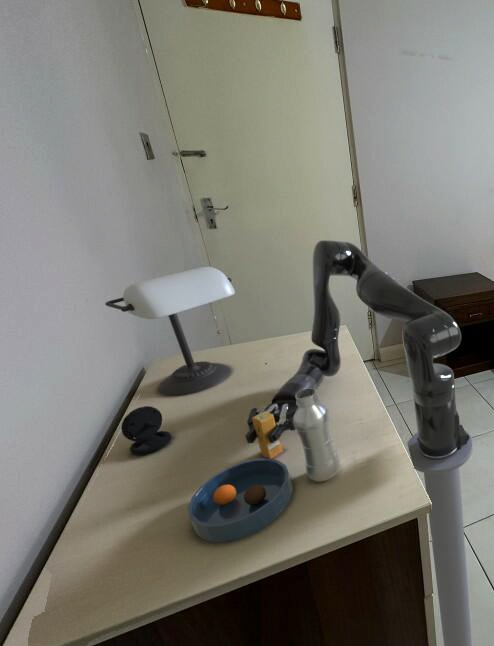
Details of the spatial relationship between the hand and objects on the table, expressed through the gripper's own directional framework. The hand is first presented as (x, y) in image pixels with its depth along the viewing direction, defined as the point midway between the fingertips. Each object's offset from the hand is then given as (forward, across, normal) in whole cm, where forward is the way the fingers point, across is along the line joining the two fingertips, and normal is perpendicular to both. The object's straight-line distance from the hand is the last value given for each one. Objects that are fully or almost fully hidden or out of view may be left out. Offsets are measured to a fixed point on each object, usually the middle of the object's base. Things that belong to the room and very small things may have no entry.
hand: (259, 439), depth 85 cm
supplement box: (-3, 0, +6) cm, 7 cm away
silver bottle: (+4, +14, +6) cm, 16 cm away
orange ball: (+11, -2, +4) cm, 12 cm away
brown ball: (+12, +4, +4) cm, 13 cm away
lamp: (-35, -37, +6) cm, 51 cm away
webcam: (-6, -30, +6) cm, 31 cm away
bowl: (+12, +2, +6) cm, 13 cm away
